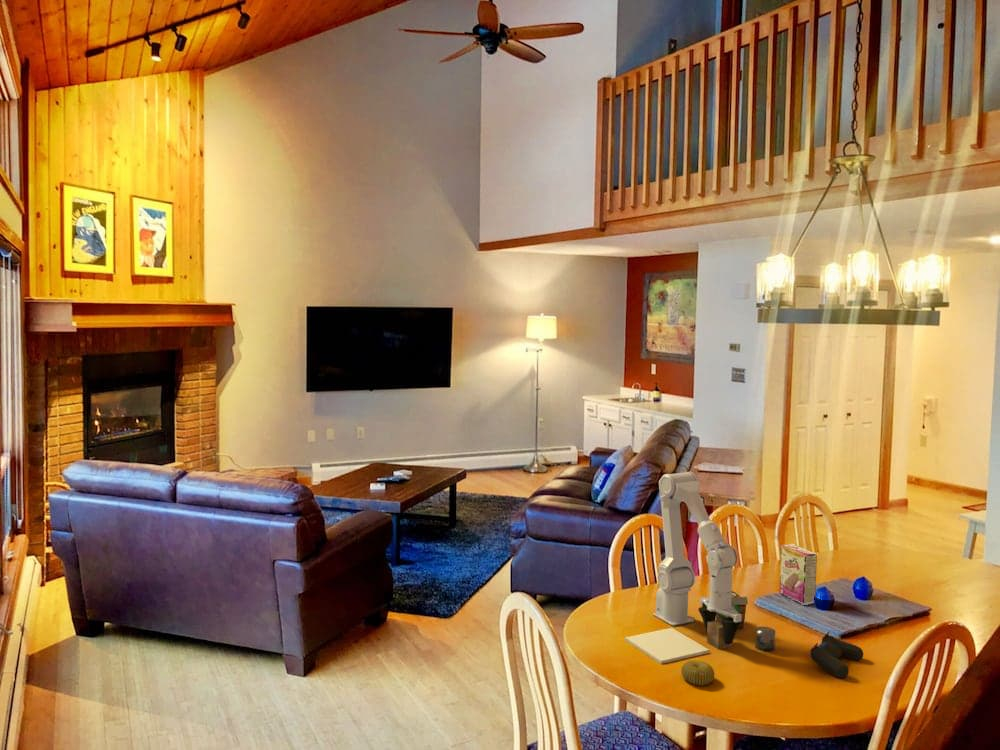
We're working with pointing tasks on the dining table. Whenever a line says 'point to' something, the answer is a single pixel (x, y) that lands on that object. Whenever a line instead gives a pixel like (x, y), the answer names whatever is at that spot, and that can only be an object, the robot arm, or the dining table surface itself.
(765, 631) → the charcoal metal cylinder
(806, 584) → the candy bar box
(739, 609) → the food container
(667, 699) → the dining table surface
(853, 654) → the gaming controller
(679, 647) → the cream mat
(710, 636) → the walnut block
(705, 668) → the olive ribbed round piece
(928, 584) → the dining table surface
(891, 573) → the dining table surface
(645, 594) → the dining table surface
